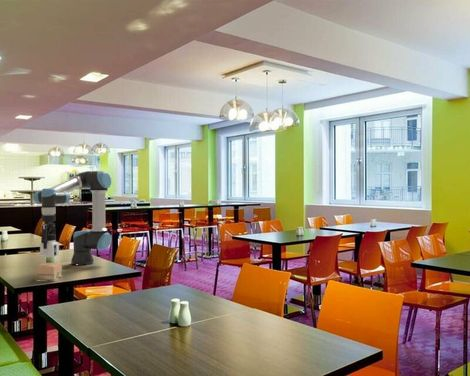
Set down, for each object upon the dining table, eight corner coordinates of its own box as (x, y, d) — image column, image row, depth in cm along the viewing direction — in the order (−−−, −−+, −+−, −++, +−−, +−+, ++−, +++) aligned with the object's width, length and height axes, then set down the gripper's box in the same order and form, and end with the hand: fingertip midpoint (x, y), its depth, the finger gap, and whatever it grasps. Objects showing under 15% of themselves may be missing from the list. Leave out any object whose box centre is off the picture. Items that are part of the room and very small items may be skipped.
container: (59, 255, 264) (59, 233, 263) (52, 257, 256) (52, 235, 256) (46, 255, 264) (46, 233, 264) (39, 257, 257) (39, 234, 256)
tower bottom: (43, 277, 266) (43, 270, 266) (61, 277, 266) (61, 270, 266) (35, 282, 255) (35, 274, 255) (54, 282, 255) (54, 274, 255)
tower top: (43, 270, 266) (43, 262, 266) (61, 270, 266) (61, 262, 266) (35, 274, 255) (34, 266, 255) (53, 274, 255) (53, 266, 255)
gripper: (49, 213, 270) (49, 250, 271) (34, 216, 249) (34, 256, 250) (61, 213, 270) (62, 250, 271) (47, 216, 249) (47, 256, 250)
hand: (48, 253), depth 260 cm, fingers closed on container, 8 cm apart
